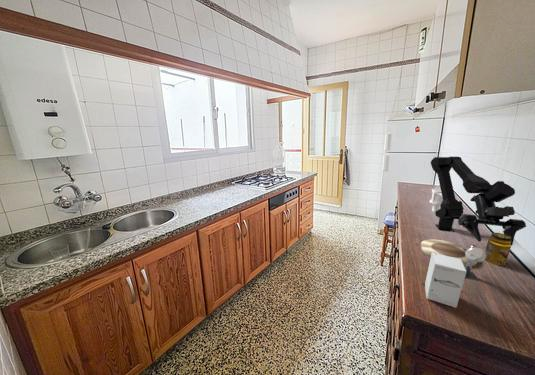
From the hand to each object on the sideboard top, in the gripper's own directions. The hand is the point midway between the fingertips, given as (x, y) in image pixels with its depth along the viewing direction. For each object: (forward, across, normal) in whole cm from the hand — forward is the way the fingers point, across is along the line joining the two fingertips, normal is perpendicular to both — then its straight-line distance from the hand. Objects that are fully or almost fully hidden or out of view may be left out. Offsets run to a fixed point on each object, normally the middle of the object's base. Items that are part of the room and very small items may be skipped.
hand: (495, 243), depth 83 cm
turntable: (+5, -14, +5) cm, 16 cm away
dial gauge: (+15, -13, -3) cm, 20 cm away
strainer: (-35, -1, +46) cm, 58 cm away
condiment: (+6, 0, +6) cm, 8 cm away
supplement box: (+26, -25, -14) cm, 39 cm away
